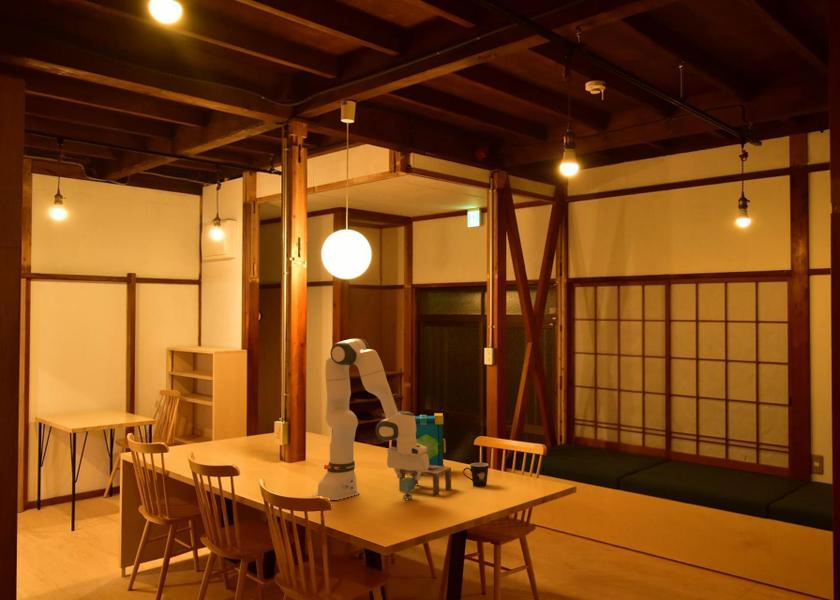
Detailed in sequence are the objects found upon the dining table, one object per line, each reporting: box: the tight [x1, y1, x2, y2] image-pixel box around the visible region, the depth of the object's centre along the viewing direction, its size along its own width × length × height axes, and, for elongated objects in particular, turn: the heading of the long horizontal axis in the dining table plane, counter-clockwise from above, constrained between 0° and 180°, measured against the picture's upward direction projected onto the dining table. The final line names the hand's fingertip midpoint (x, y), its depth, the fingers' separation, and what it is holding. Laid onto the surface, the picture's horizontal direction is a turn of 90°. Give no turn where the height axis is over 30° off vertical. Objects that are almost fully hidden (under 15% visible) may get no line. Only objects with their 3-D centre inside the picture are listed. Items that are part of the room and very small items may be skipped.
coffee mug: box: [462, 462, 489, 488], centre depth 325 cm, size 12×9×10 cm
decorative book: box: [405, 412, 447, 476], centre depth 353 cm, size 14×23×30 cm, turn 90°
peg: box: [400, 476, 416, 500], centre depth 302 cm, size 6×4×9 cm, turn 150°
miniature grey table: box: [398, 465, 452, 496], centre depth 318 cm, size 20×14×10 cm
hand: (408, 479), depth 302 cm, fingers open, 8 cm apart
